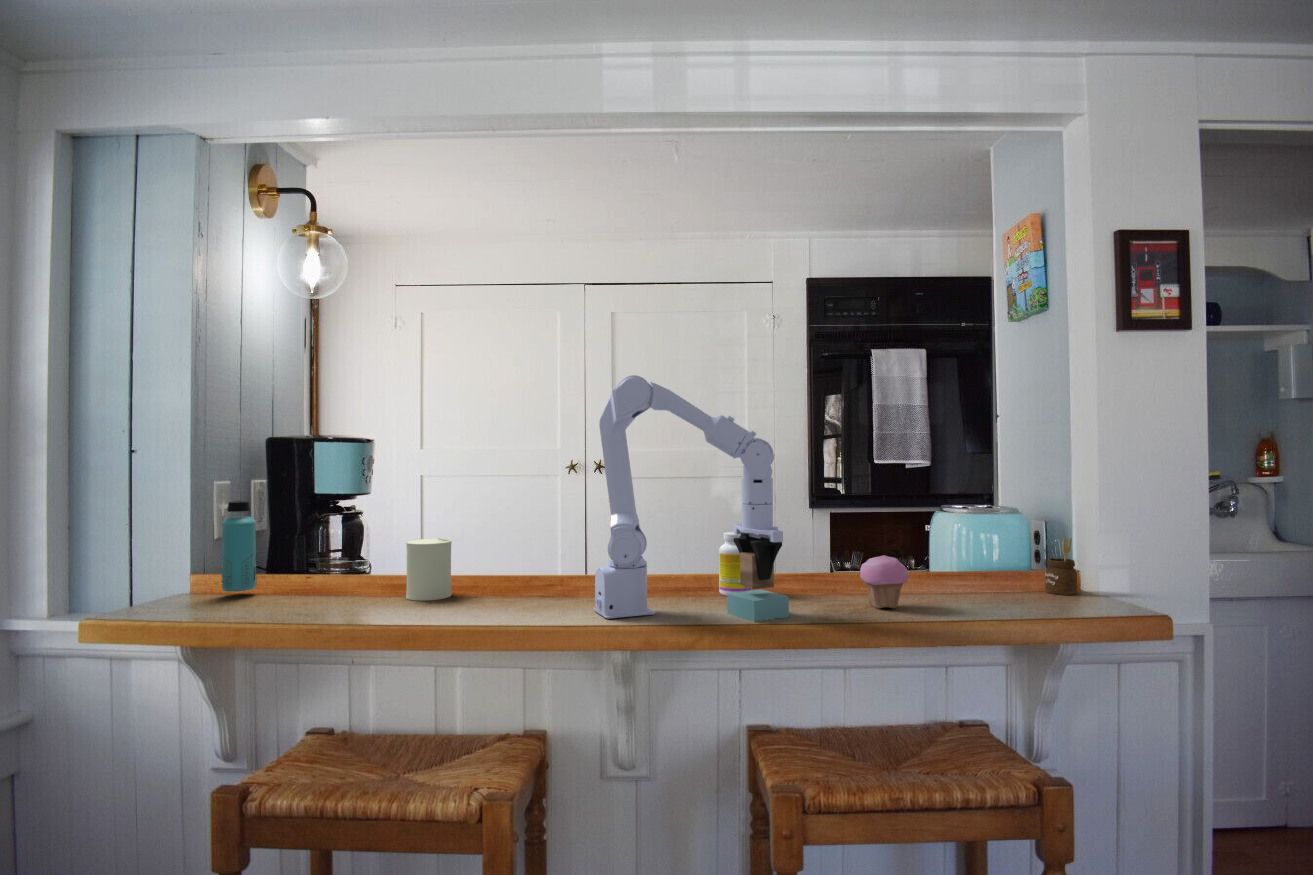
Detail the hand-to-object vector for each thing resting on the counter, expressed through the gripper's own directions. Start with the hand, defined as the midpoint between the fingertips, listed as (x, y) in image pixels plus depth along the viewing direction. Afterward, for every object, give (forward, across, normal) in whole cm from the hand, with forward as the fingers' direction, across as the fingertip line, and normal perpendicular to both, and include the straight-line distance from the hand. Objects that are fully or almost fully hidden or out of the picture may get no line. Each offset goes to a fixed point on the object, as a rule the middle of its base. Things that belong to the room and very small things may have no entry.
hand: (757, 577), depth 135 cm
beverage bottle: (+7, +58, +92) cm, 109 cm away
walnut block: (+2, 0, 0) cm, 2 cm away
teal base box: (+7, 0, 0) cm, 7 cm away
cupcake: (+7, -4, -26) cm, 27 cm away
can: (+7, +42, +54) cm, 69 cm away
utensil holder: (+7, -7, -70) cm, 70 cm away
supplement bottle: (+7, +19, -6) cm, 21 cm away
